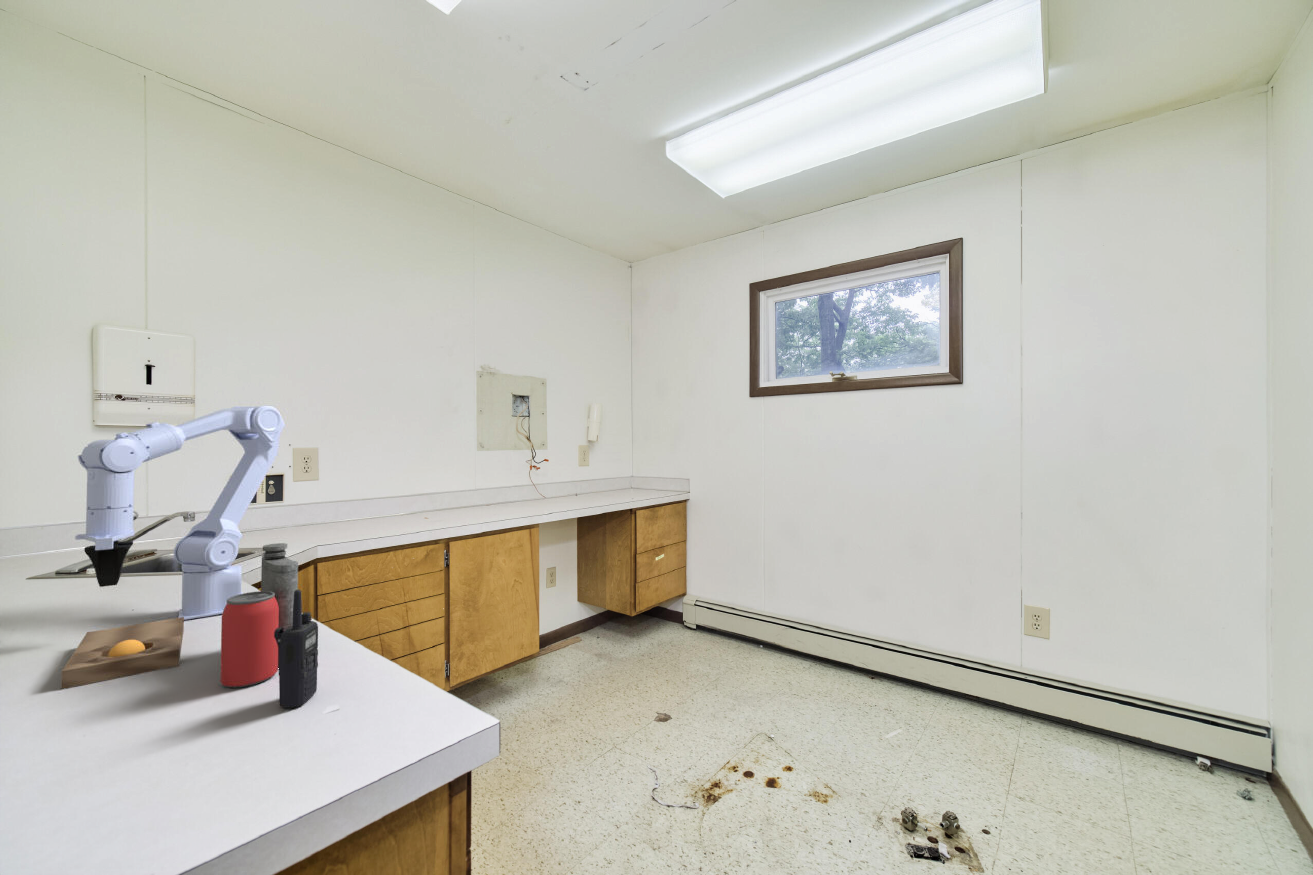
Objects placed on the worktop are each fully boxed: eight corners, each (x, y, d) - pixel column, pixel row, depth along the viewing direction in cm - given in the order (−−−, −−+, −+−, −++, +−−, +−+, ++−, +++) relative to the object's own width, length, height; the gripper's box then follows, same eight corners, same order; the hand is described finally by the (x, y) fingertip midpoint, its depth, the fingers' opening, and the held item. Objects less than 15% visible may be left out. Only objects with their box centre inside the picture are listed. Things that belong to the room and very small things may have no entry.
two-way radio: (300, 710, 66) (302, 592, 67) (262, 712, 66) (264, 594, 66) (321, 690, 72) (323, 581, 72) (286, 692, 71) (288, 582, 71)
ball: (143, 648, 79) (143, 670, 80) (147, 631, 81) (146, 652, 82) (105, 654, 76) (105, 676, 77) (110, 636, 79) (110, 658, 80)
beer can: (287, 674, 77) (289, 593, 77) (236, 693, 71) (237, 605, 71) (261, 666, 79) (263, 588, 80) (210, 684, 73) (211, 599, 74)
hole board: (183, 630, 95) (183, 616, 95) (178, 665, 80) (179, 649, 80) (86, 646, 87) (87, 632, 87) (61, 689, 72) (61, 671, 72)
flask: (269, 672, 77) (271, 551, 78) (253, 646, 87) (255, 539, 88) (298, 665, 80) (300, 548, 80) (280, 640, 90) (281, 537, 90)
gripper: (83, 505, 94) (82, 580, 93) (68, 513, 83) (66, 598, 82) (138, 502, 98) (137, 574, 98) (131, 509, 87) (129, 590, 87)
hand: (108, 585), depth 91 cm, fingers closed
